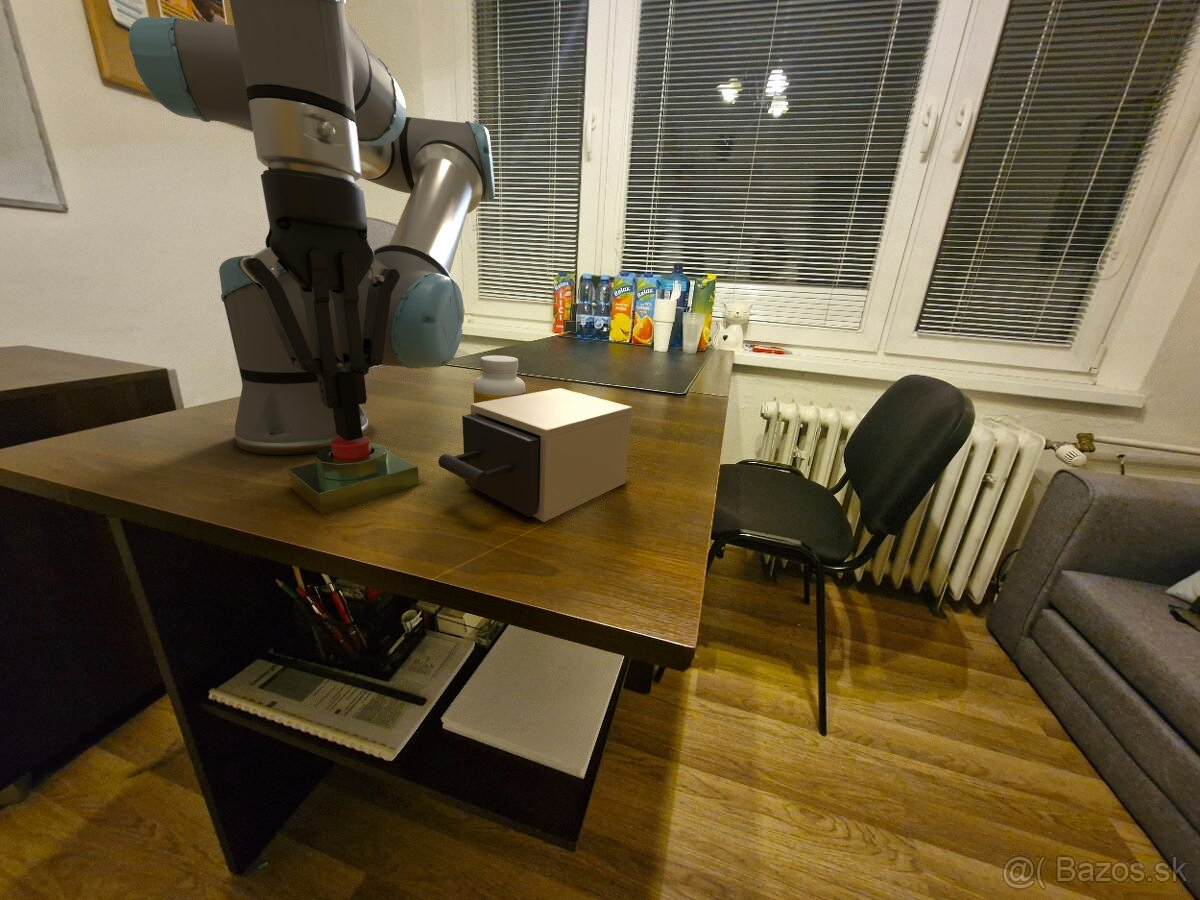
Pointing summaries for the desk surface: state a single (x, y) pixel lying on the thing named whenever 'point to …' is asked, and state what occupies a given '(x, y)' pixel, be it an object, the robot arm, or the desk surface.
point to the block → (351, 478)
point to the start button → (351, 448)
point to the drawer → (499, 462)
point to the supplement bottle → (498, 379)
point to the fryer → (569, 443)
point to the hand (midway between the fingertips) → (349, 435)
